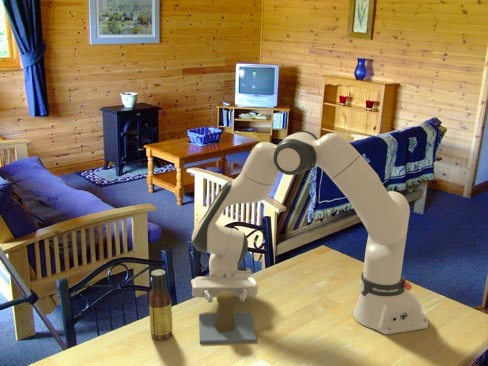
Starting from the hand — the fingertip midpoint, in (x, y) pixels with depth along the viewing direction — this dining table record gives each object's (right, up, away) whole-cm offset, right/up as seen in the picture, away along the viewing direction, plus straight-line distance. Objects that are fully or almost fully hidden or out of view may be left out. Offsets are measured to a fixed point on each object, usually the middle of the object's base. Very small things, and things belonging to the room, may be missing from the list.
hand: (226, 300), depth 158 cm
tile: (0, -8, -1) cm, 8 cm away
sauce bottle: (-19, -9, -4) cm, 21 cm away
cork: (0, -8, -1) cm, 8 cm away
